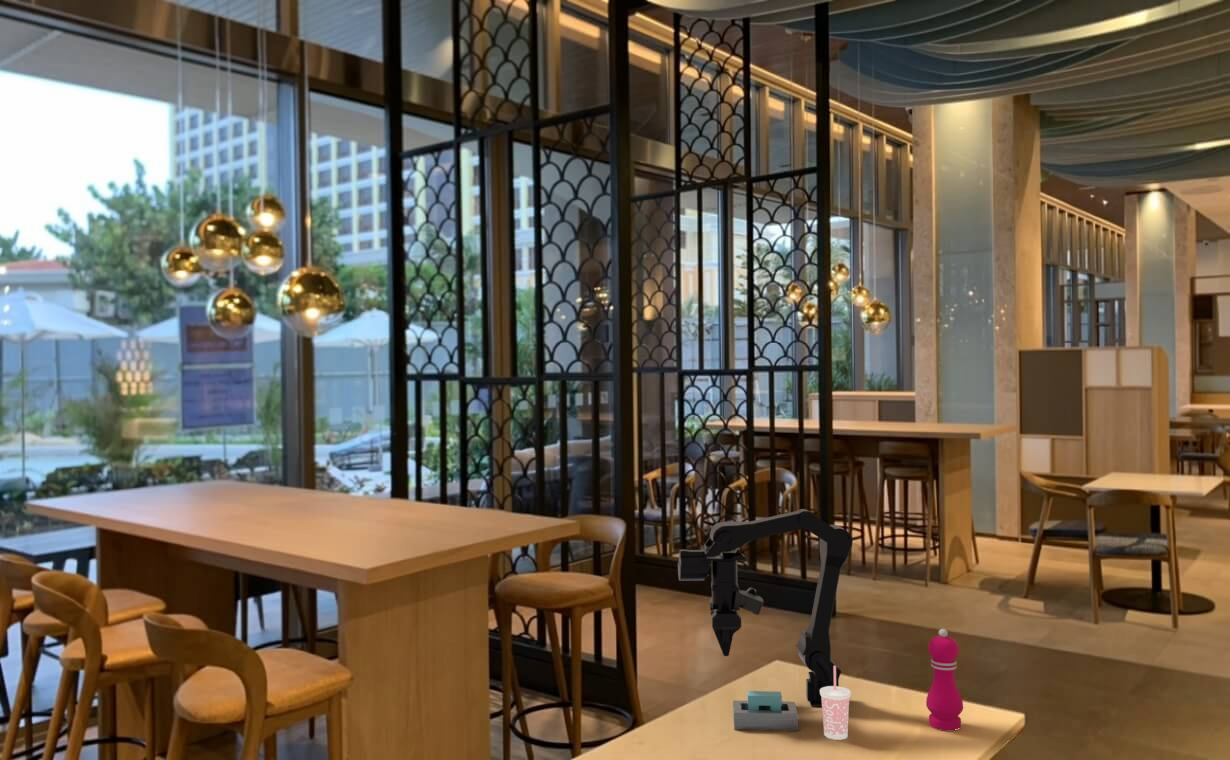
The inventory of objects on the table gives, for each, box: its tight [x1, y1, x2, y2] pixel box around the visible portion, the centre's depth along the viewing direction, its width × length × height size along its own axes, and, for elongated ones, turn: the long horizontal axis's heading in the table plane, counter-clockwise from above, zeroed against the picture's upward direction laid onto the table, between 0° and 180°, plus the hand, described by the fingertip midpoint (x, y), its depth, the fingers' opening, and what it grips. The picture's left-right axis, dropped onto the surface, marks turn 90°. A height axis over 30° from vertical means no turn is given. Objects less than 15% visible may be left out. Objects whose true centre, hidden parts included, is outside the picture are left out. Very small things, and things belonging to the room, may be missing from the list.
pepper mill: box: [925, 628, 964, 731], centre depth 188 cm, size 7×7×20 cm
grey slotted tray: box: [732, 700, 799, 732], centre depth 191 cm, size 13×7×4 cm, turn 84°
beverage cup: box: [820, 665, 851, 741], centre depth 184 cm, size 6×6×14 cm
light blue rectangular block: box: [746, 690, 783, 711], centre depth 191 cm, size 7×3×6 cm, turn 84°
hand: (725, 649), depth 203 cm, fingers open, 9 cm apart
